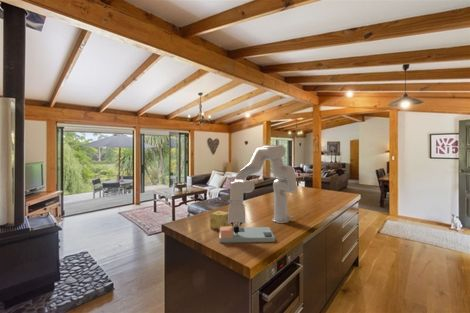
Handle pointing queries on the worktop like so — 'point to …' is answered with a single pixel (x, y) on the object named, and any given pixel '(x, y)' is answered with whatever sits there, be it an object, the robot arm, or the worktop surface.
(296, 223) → the worktop surface
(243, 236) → the trap deck
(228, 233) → the block
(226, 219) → the cheese
